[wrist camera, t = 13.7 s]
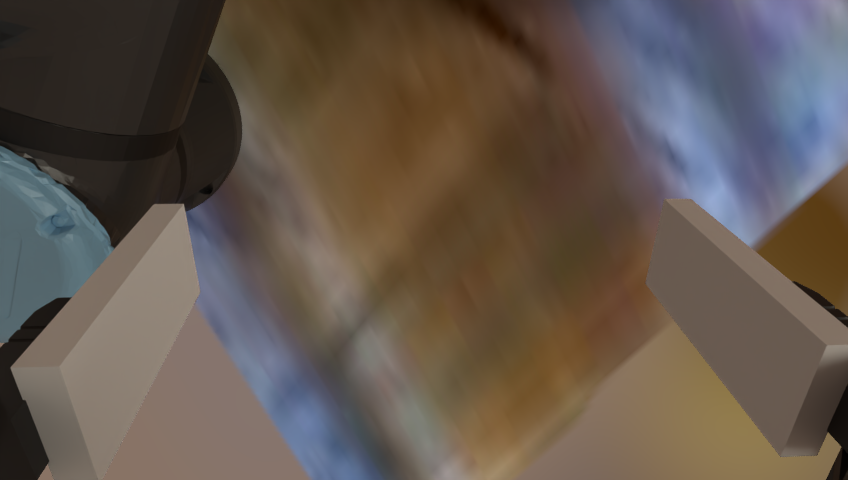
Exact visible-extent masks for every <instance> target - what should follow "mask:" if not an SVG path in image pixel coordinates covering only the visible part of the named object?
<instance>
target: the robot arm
mask: <svg viewBox="0 0 848 480" xmlns="http://www.w3.org/2000/svg"><path fill="white" fill-rule="evenodd" d="M224 3H225V0H0V343H4V344H3V345H2V347H1V348H0V480H38V478H39V476H40V475H41V473H42V472H43V470H44V469H45V467H46V466H47V464H48V466H49V468H50V471H51V473H52V476H53V479H54V480H102V479H103V477H104V476H105V474H106V472H107V470H108V468H109V466H110V464H111V462H112V460H113V458H114V456H115V454H116V452H117V451H118V449H119V447H120V445H121V443H122V441H123V439H124V437H125V435H126V433H127V431H128V430H129V428H130V426H131V424H132V422H133V420H134V418H135V416H136V414H137V412H138V410H139V409H140V407H141V405H142V403H143V401H144V399H145V397H146V395H147V393H148V391H149V389H150V387H151V386H152V383H153V382H154V380H155V378H156V376H157V374H158V372H159V370H160V368H161V366H162V364H163V363H164V361H165V359H166V357H167V355H168V353H169V351H170V349H171V347H172V345H173V343H174V342H175V340H176V338H177V336H178V334H179V332H180V330H181V328H182V326H183V324H184V322H185V321H186V318H187V317H188V315H189V313H190V311H191V309H192V307H193V305H194V303H195V301H196V299H197V298H198V296H199V294H200V288H199V283H198V277H197V272H196V266H195V261H194V256H193V250H192V245H191V240H190V234H189V229H188V224H187V218H186V213H185V212H186V211H188V210H191V209H193V208H195V207H197V206H198V205H200V204H201V203H203V202H204V201H206V200H207V199H208V198H210V197H211V196H212V195H213V194H214V193H215V192H216V191H217V190H218V189H219V188H220V186H221V185H222V184H223V182H224V181H225V179H226V178H227V176H228V175H229V173H230V172H231V170H232V168H233V167H234V165H235V162H236V160H237V157H238V154H239V151H240V146H241V140H242V122H241V115H240V110H239V106H238V102H237V99H236V96H235V94H234V91H233V89H232V87H231V85H230V83H229V81H228V80H227V78H226V76H225V75H224V73H223V72H222V70H221V69H220V68H219V66H218V65H217V64H216V62H215V61H214V60H213V59H212V58H211V57H210V56H209V55H208V54H207V53H208V50H209V47H210V44H211V41H212V38H213V36H214V33H215V30H216V27H217V24H218V21H219V18H220V15H221V12H222V9H223V6H224ZM645 284H646V285H647V286H648V287H649V289H650V290H651V291H652V293H653V294H654V295H655V296H656V298H657V299H658V300H659V302H660V303H661V304H662V305H663V307H664V308H665V309H666V311H667V312H668V313H669V314H670V316H671V317H672V318H673V320H674V321H675V322H676V323H677V325H678V326H679V327H680V328H681V330H682V331H683V332H684V334H685V335H686V336H687V337H688V339H689V340H690V341H691V343H692V344H693V345H694V346H695V348H696V349H697V350H698V352H699V353H700V354H701V355H702V357H703V358H704V359H705V361H706V362H707V363H708V364H709V366H710V367H711V368H712V369H713V371H714V372H715V373H716V375H717V376H718V377H719V379H720V380H721V381H722V382H723V384H724V385H725V386H726V388H727V389H728V390H729V391H730V393H731V394H732V395H733V396H734V398H735V399H736V400H737V402H738V403H739V404H740V405H741V407H742V408H743V409H744V411H745V412H746V413H747V414H748V416H749V417H750V418H751V419H752V421H753V422H754V423H755V425H756V426H757V427H758V429H759V430H760V431H761V432H762V434H763V435H764V436H765V438H766V439H767V440H768V441H769V443H770V444H771V445H772V447H773V448H774V449H775V450H776V452H777V453H778V454H779V455H780V457H790V456H815V455H818V452H819V450H820V448H821V446H822V444H823V442H824V439H825V437H826V435H827V433H828V432H829V433H830V435H831V436H832V437H833V438H834V439H835V440H836V441H837V442H838V443H839V444H840V445H841V449H840V452H839V454H838V456H837V458H836V460H835V462H834V464H833V466H832V468H831V470H830V473H829V475H828V477H827V479H826V480H848V317H847V316H846V315H845V314H844V313H842V312H841V311H840V310H839V309H835V307H834V305H832V304H831V303H830V302H828V301H827V300H826V299H825V298H824V297H822V296H821V295H820V294H819V293H817V292H815V291H813V290H811V289H809V288H807V287H805V286H803V285H801V284H799V283H797V282H795V281H794V282H791V281H790V280H789V279H788V278H786V277H785V276H784V275H783V274H782V273H780V272H779V271H778V270H777V269H775V268H774V267H773V266H772V265H770V264H769V263H768V262H767V261H766V260H764V259H763V258H762V257H761V256H760V255H758V254H757V253H756V252H755V251H754V250H752V249H751V248H750V247H749V246H748V245H746V244H745V243H744V242H743V241H741V240H740V239H739V238H738V237H737V236H735V235H734V234H733V233H732V232H730V231H729V230H728V229H727V228H726V227H724V226H723V225H722V224H721V223H720V222H718V221H717V220H716V219H715V218H713V217H712V216H711V215H710V214H709V213H707V212H706V211H705V210H704V209H702V208H701V207H700V206H699V205H698V204H696V203H695V202H694V201H693V200H691V199H664V203H663V207H662V212H661V216H660V221H659V225H658V230H657V234H656V238H655V243H654V247H653V252H652V256H651V261H650V265H649V270H648V274H647V279H646V283H645Z"/></svg>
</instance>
